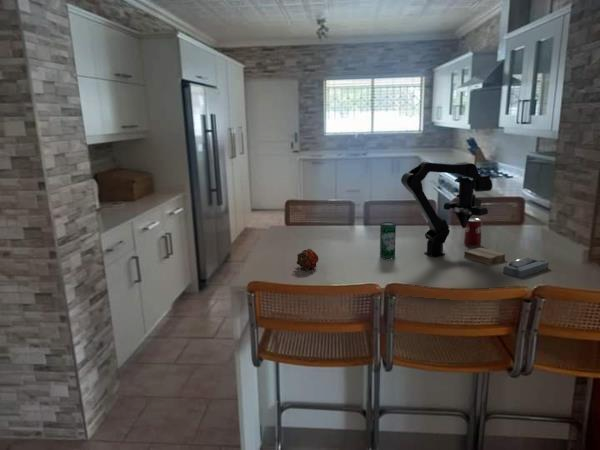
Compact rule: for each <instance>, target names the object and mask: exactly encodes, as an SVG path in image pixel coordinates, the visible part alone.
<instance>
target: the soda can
mask: <svg viewBox="0 0 600 450" xmlns="http://www.w3.org/2000/svg"><path fill="white" fill-rule="evenodd" d="M482 229H483V220H482V219H481V218H478V217H470V219H469V221H468V223H467V225H466V228H464V234H463V235H464V240H463V244H464V245H465V246H467V247H473V248H475V247H476V248H478V247H480V246H481V244H482V231H483V230H482Z"/></svg>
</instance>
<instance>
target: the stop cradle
mask: <svg viewBox="0 0 600 450" xmlns="http://www.w3.org/2000/svg"><path fill="white" fill-rule="evenodd" d="M530 258H531V259H532V261H533V263H531V264H528V265H524V266H521V267H518V268H515V267H511V266H509V264H508V265H504V266H503V267H502V268H503V269H502V272H503V273H504V274H507V275H510V276H513V277H516V278H521V279H522V278H524V277H526V275H527V276H529V274H530V275H532V274H531V273H533V274H535V273H534V272H536V273H538V272H537V271H539V272H541V271H544V270H547V269H549V264H550V262H549V261H547V260H543V259H539V258H536V257H535V258H534V257H530ZM546 268H547V269H546ZM543 269H544V270H543ZM540 270H541V271H540Z"/></svg>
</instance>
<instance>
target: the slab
mask: <svg viewBox="0 0 600 450" xmlns="http://www.w3.org/2000/svg"><path fill="white" fill-rule="evenodd" d="M463 257H464V258H466V259H470V260H473V261H476V262H479V263H482V264H486V265H492V264H495V263H499V262H502V261H505V260H506V259H505V258H506V254H505V253H503V252H499V251H495V250H492V249H488V248H483V247H480V246H479V247H476V248H472V249H469V250H465V251H464V254H463Z"/></svg>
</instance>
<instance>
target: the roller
mask: <svg viewBox="0 0 600 450" xmlns="http://www.w3.org/2000/svg"><path fill="white" fill-rule="evenodd" d="M531 258H532V257H529V256H526V257H522V258H519V259H516V260H513V261H510V262H509V264H508V266H511V267H515V268H518V267H521V266H524V265H528V264H531V263H533V261H532V259H531Z"/></svg>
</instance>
